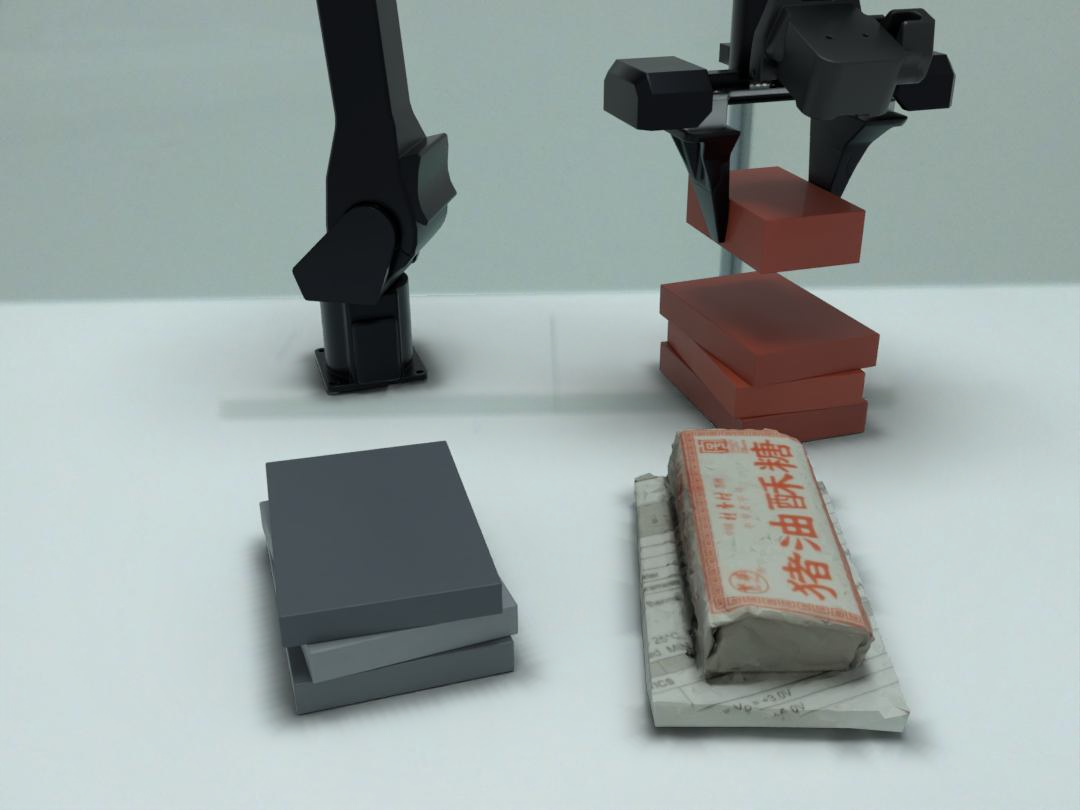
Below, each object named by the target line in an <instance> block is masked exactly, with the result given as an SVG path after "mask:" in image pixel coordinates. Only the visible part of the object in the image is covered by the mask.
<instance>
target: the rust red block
mask: <svg viewBox="0 0 1080 810" xmlns="http://www.w3.org/2000/svg"><path fill="white" fill-rule="evenodd" d="M687 177H688V178H687V196H686V197H687V198H686V215H685V220H686V221H685V223H686V224H688V225H689V226H691V227H692V228H694V229H695V230H696V231H698V232H699V233H701V234H703V236H705V237H707V238H709V240H711V241H713V242H714V243H715V244H717V245H718V246H720V247H721V248H723V249H725V250H726V251H727V252H729V254H731V255H733V257H736V258H737V259H739V260H740V261H741V262H743V263H744V264H746V265H747V266H749V267H750V268H751V269H753V270H754V271H757V272H759V273H760V274H768V273H784V272H785V273H786V272H794V271H802V270H803V271H804V270H811V269H819V268H826V267H828V268H829V267H836V266H846V265H853V264H854V265H855V264H859V263H860V260H861V253H862V246H863V245H862V244H863V237H864V228H865V220H866V213H867V211H866V209H864V208H862V207H860V206H858V205H856V204H854V203H852V202H850V201H848V200H846V199H844V198H843V197H841V198H840V197H838V196H836V195H834V194H832V193H830V192H828V191H826V190H824V189H822V188H820V187H818V186H816V185H814V184H812V183H810V182H808V180H806V179H805V178H802V177H801V176H798V175H797V174H794V173H793V172H790V171H789V170H787V169H784V168H783V167H781V166H778V165H776V166H775V165H774V166H765V167H753V168H742V169H732V170H731V169H730V180H729V218H728V225H727V231H726V237H725V242H724V243H717V242H715V241H714V240H713V239H712V238H711V236H710V233H709V230H708V227H707V225H706V222H705V219H704V216H703V213H702V210H701V207H700V205H699V202H698V199H697V196H696V193H695V190H694V188H693V185H692V182H691V179H690V176H689V174H688V176H687Z"/></svg>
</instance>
